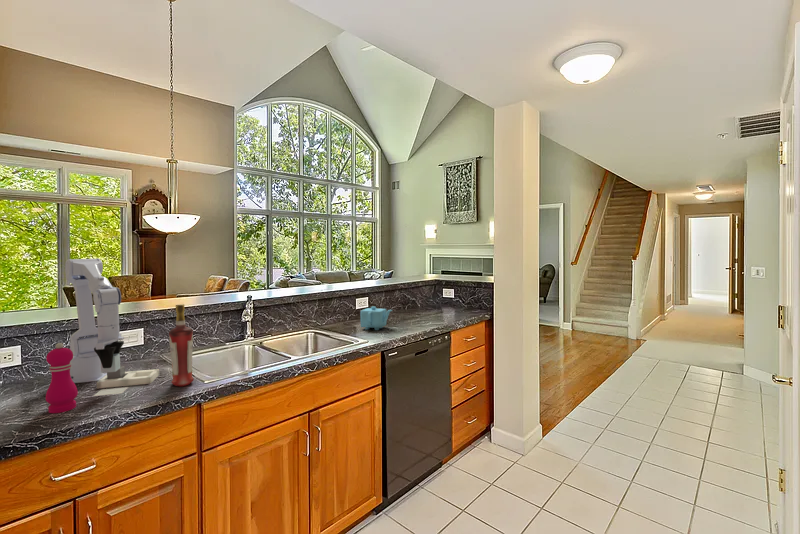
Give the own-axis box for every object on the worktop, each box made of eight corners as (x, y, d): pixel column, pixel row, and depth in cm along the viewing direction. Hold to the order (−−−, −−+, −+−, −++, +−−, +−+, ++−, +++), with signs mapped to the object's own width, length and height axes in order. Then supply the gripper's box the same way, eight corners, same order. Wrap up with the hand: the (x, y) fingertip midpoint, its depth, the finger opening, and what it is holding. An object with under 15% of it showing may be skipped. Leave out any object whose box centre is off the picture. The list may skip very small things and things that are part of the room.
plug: (101, 372, 127) (100, 355, 126) (106, 369, 130) (105, 352, 130) (115, 371, 128) (114, 354, 127) (120, 368, 132) (119, 351, 131)
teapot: (358, 330, 223) (358, 308, 223) (368, 325, 238) (368, 304, 238) (388, 332, 218) (388, 309, 217) (397, 326, 233) (396, 305, 232)
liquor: (170, 383, 137) (167, 304, 136) (193, 379, 141) (190, 302, 140) (171, 389, 131) (168, 307, 130) (195, 385, 135) (193, 305, 134)
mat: (92, 397, 125) (92, 396, 125) (101, 390, 131) (101, 389, 131) (121, 394, 128) (121, 393, 128) (128, 387, 133) (128, 387, 133)
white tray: (96, 389, 132) (96, 371, 132) (109, 379, 142) (108, 363, 142) (150, 384, 137) (150, 367, 137) (159, 375, 147) (158, 359, 146)
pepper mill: (59, 405, 119) (55, 340, 118) (84, 404, 119) (81, 339, 119) (39, 415, 112) (35, 346, 111) (66, 414, 112) (62, 345, 111)
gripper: (113, 328, 123) (115, 371, 123) (130, 320, 136) (132, 358, 137) (86, 330, 121) (88, 373, 121) (107, 321, 134) (108, 360, 135)
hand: (110, 365), depth 129 cm, fingers closed on plug, 4 cm apart
